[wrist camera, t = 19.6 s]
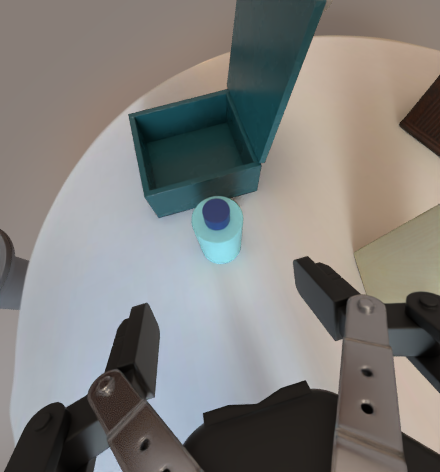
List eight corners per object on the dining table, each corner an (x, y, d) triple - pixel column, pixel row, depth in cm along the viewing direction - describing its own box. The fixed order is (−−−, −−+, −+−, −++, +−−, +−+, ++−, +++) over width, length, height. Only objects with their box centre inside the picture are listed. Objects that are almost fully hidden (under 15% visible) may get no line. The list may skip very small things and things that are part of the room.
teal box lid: (316, 1, 16) (375, -2, 17) (247, -93, 21) (294, -92, 22) (259, 163, 31) (291, 157, 32) (226, 85, 36) (255, 82, 37)
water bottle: (207, 268, 33) (195, 243, 23) (197, 232, 35) (182, 194, 25) (245, 257, 34) (251, 227, 23) (234, 222, 35) (234, 180, 25)
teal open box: (158, 218, 36) (144, 197, 30) (143, 144, 41) (128, 114, 35) (257, 190, 37) (261, 165, 31) (229, 121, 42) (229, 88, 36)
